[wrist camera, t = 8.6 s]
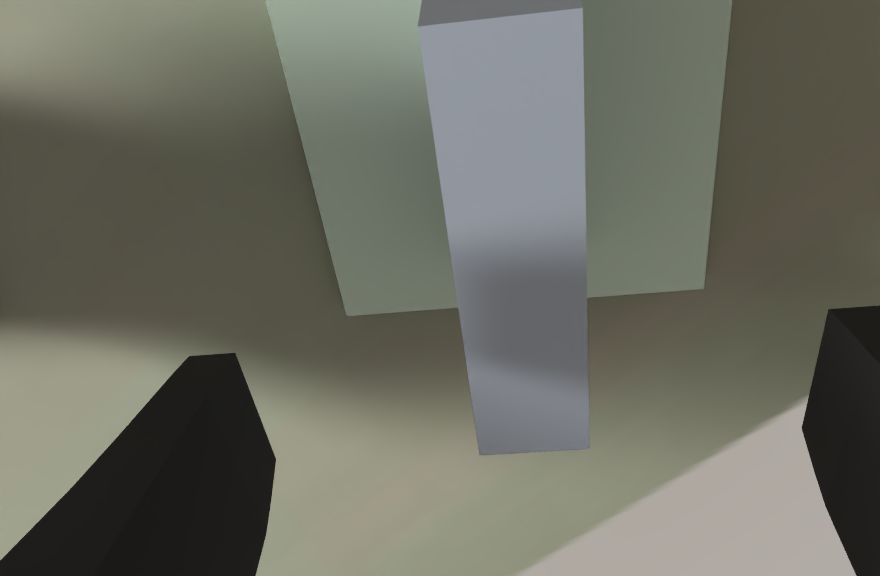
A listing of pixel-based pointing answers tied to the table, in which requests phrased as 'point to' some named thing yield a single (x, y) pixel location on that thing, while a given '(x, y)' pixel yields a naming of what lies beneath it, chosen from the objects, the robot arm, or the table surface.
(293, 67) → the mat
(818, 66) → the table surface
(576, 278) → the grey rectangular box
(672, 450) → the table surface
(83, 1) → the table surface
